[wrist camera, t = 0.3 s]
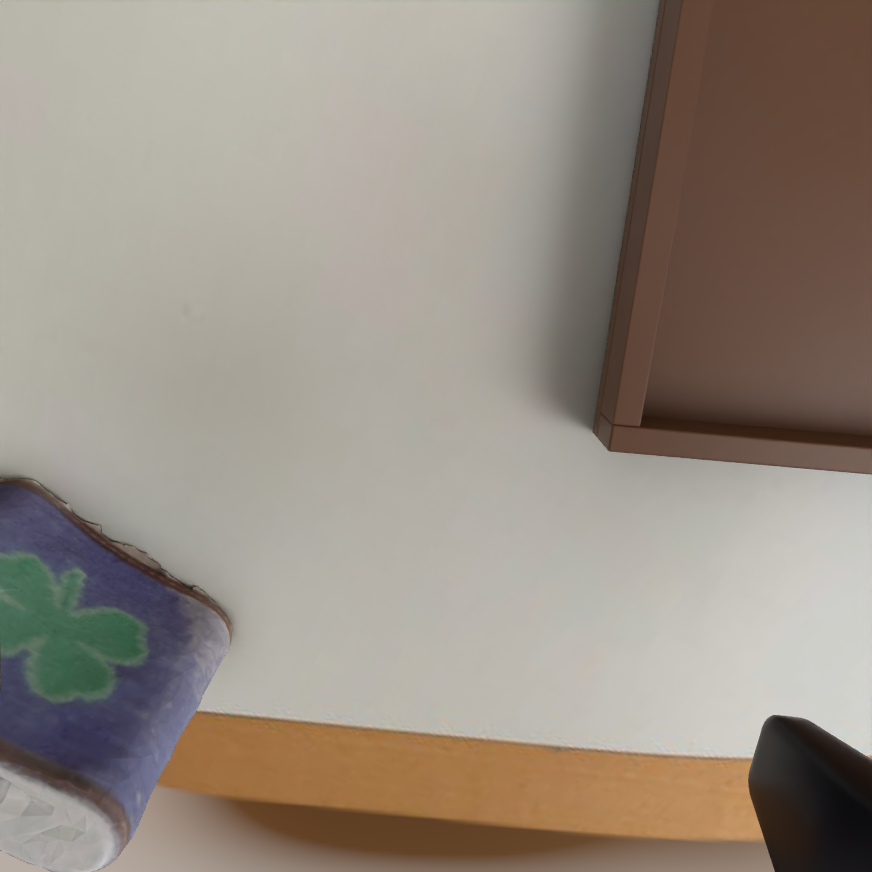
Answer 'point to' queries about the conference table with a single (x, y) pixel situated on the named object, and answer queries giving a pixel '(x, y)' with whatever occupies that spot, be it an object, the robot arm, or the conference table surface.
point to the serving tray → (748, 241)
